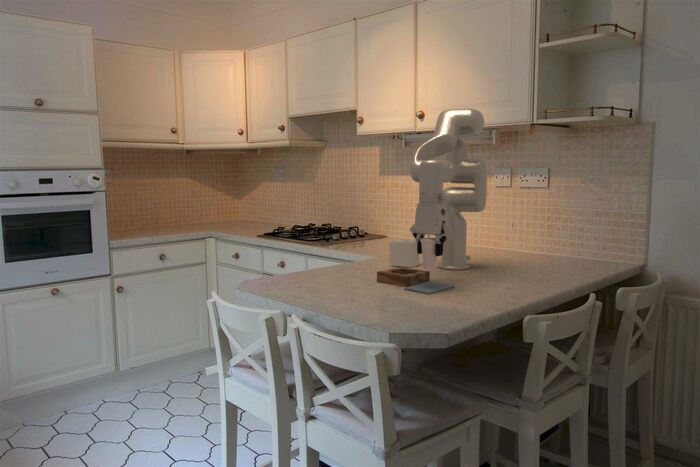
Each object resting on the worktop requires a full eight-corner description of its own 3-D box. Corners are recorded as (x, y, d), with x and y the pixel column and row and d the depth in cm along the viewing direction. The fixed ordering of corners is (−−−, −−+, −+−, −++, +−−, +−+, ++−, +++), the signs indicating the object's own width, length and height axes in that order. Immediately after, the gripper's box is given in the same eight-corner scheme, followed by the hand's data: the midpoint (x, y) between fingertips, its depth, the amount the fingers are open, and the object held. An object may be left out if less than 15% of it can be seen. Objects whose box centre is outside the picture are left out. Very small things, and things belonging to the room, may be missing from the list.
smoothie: (416, 267, 176) (416, 224, 175) (433, 266, 179) (434, 224, 177) (425, 270, 171) (426, 226, 169) (443, 269, 173) (444, 226, 171)
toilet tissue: (422, 263, 222) (422, 239, 220) (413, 268, 211) (413, 243, 210) (398, 261, 226) (398, 238, 225) (387, 266, 215) (387, 241, 214)
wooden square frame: (400, 276, 196) (400, 266, 195) (429, 281, 187) (429, 271, 186) (376, 281, 186) (376, 271, 186) (406, 287, 177) (406, 276, 177)
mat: (429, 283, 184) (429, 281, 184) (454, 287, 177) (454, 285, 177) (403, 289, 174) (404, 287, 174) (429, 294, 167) (429, 292, 167)
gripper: (460, 199, 169) (459, 256, 171) (415, 197, 181) (415, 250, 183) (447, 200, 163) (446, 259, 166) (402, 198, 175) (401, 253, 177)
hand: (429, 254), depth 174 cm, fingers closed on smoothie, 6 cm apart
